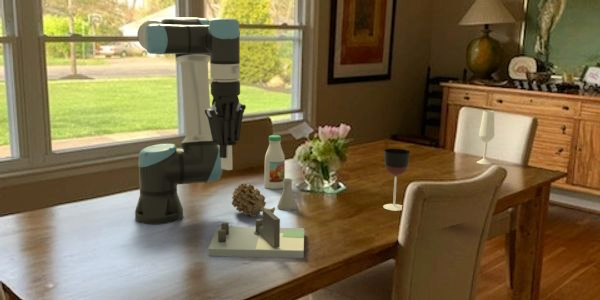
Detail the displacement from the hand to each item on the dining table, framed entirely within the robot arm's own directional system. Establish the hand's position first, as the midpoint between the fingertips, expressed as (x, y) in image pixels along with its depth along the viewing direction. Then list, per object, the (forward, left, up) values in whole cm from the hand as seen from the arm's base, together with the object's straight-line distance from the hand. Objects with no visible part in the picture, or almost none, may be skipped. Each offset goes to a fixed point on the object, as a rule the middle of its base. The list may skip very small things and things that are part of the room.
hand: (226, 168), depth 158 cm
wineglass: (+52, +46, -25) cm, 73 cm away
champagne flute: (+103, +116, -25) cm, 157 cm away
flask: (+15, +43, -25) cm, 52 cm away
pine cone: (+5, +32, -25) cm, 41 cm away
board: (+8, +8, -24) cm, 27 cm away
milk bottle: (+9, +68, -25) cm, 73 cm away
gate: (+10, +6, -22) cm, 25 cm away
